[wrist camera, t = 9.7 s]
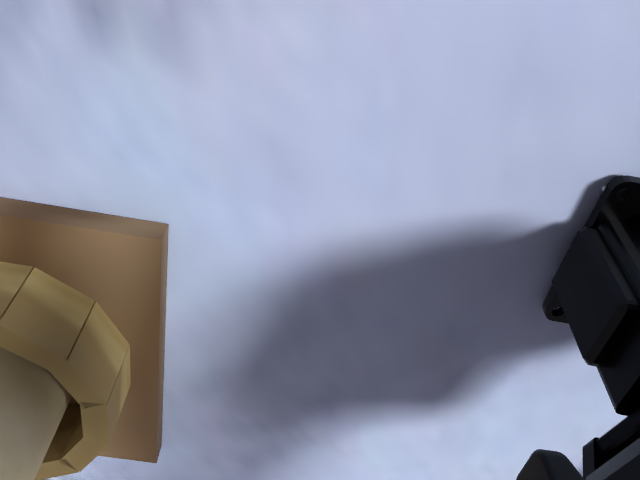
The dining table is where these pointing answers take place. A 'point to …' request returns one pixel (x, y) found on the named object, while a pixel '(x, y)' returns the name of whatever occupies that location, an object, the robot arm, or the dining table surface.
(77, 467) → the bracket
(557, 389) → the dining table surface
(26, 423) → the candle
